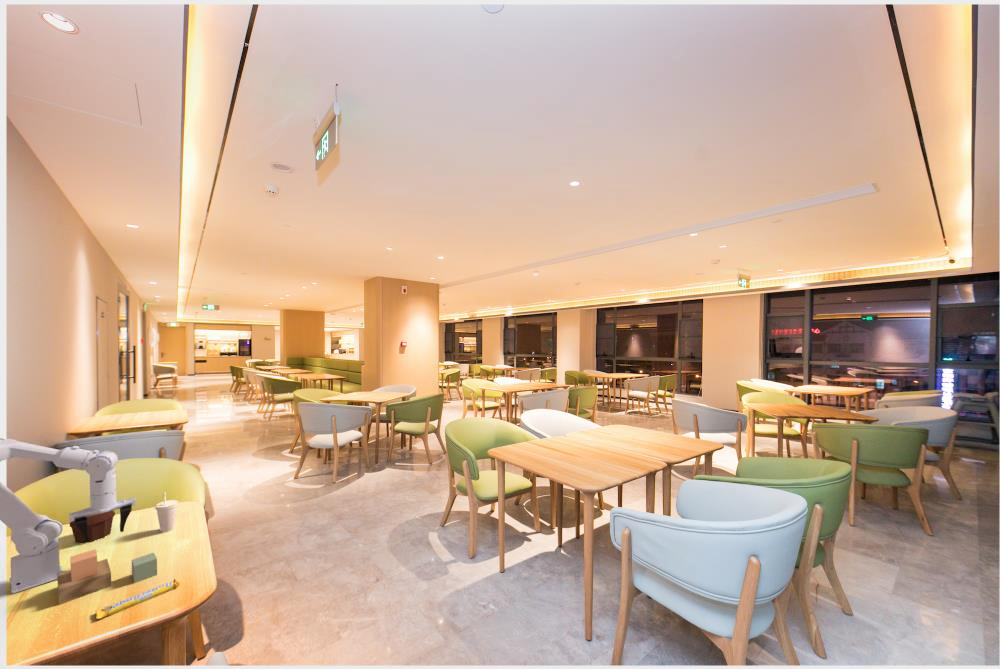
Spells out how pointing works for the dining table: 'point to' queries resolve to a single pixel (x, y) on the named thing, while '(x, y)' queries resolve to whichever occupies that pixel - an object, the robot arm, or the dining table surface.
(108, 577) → the walnut block
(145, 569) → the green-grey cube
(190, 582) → the dining table surface
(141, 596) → the candy bar
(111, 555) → the dining table surface
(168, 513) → the smoothie
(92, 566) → the terracotta cube
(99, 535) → the muffin
